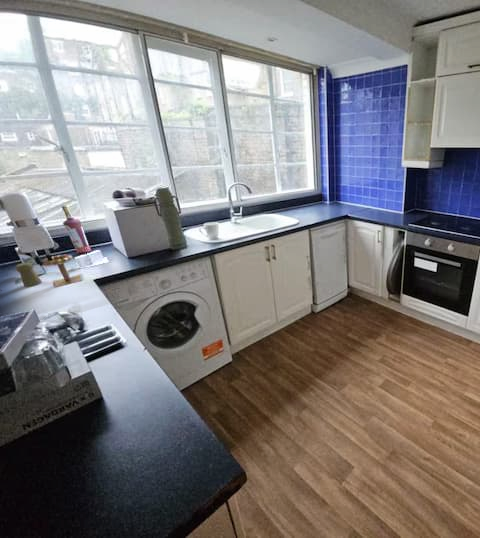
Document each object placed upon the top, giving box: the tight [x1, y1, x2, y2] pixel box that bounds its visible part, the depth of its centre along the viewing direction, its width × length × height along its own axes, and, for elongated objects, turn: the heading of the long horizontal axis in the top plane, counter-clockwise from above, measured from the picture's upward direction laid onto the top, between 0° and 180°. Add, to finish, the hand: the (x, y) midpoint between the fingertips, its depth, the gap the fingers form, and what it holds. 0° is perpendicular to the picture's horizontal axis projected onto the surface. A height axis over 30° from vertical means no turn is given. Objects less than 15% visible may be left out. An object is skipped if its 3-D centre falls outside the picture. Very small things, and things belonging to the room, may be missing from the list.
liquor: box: [61, 204, 92, 255], centre depth 169 cm, size 7×7×28 cm
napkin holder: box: [74, 249, 110, 269], centre depth 156 cm, size 15×11×6 cm
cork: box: [14, 262, 43, 288], centre depth 131 cm, size 6×6×11 cm
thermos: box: [152, 187, 188, 251], centre depth 172 cm, size 9×12×35 cm
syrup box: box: [14, 246, 47, 277], centre depth 143 cm, size 6×6×14 cm
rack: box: [53, 263, 83, 288], centre depth 133 cm, size 9×9×11 cm
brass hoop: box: [41, 254, 74, 267], centre depth 130 cm, size 10×10×2 cm
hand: (46, 264), depth 128 cm, fingers closed on brass hoop, 2 cm apart
